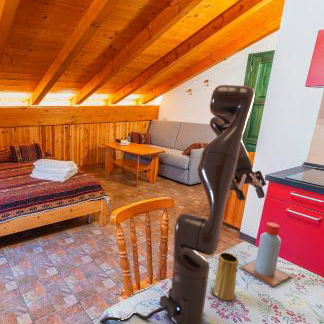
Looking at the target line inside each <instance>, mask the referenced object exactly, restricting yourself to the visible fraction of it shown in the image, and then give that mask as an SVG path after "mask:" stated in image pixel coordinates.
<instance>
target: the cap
mask: <svg viewBox="0 0 324 324" xmlns="http://www.w3.org/2000/svg"><path fill="white" fill-rule="evenodd" d="M280 227H281V226H280V225H279V224H278V223H275V222H270V221H269V222H267V223H266V226H265V232H266V233H268V234H271V235H278V236H279V233H280Z"/></svg>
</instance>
